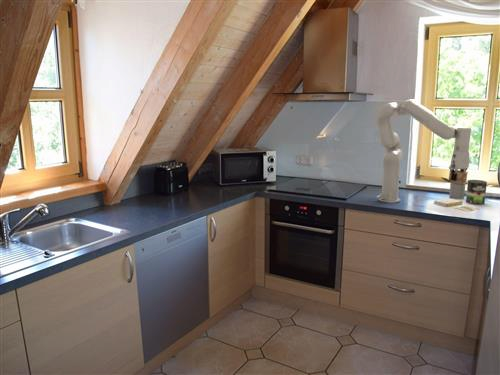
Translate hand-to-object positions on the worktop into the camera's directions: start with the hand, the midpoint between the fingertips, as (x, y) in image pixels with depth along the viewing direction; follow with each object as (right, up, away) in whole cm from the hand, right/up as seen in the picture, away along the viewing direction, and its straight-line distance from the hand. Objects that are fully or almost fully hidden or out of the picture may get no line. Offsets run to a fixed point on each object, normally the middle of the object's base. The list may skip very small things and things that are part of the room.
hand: (457, 179), depth 246 cm
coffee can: (+16, -15, +11) cm, 24 cm away
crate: (0, -1, 0) cm, 1 cm away
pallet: (+4, -18, -3) cm, 18 cm away
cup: (+11, -12, +24) cm, 29 cm away
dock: (-2, -15, +8) cm, 17 cm away
